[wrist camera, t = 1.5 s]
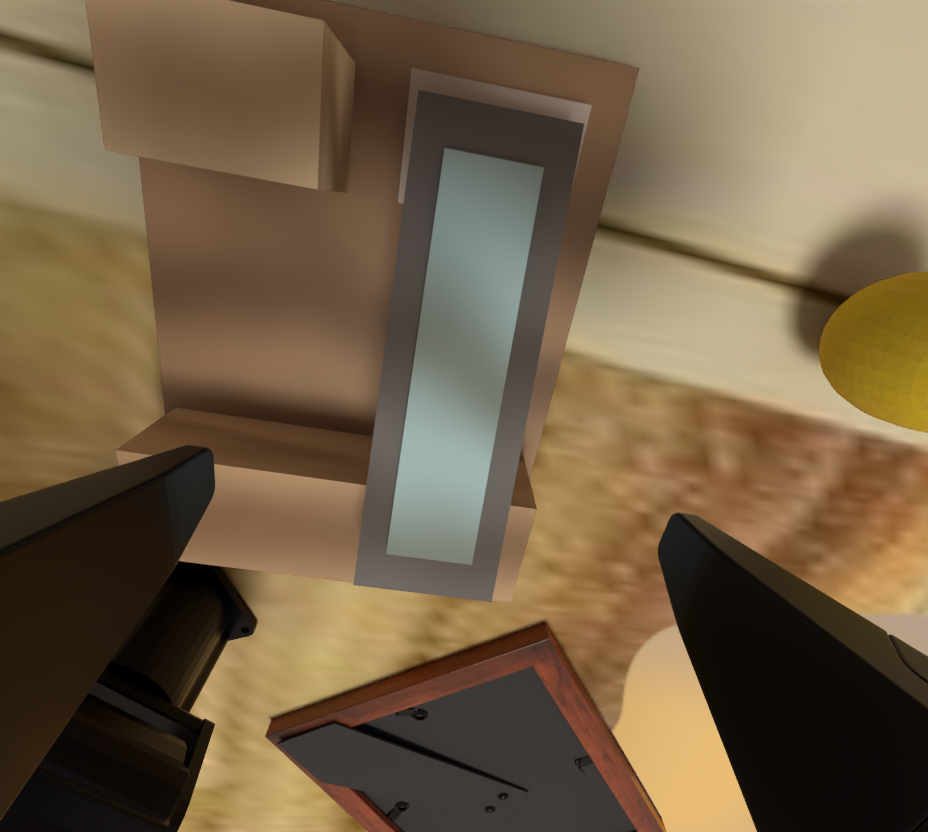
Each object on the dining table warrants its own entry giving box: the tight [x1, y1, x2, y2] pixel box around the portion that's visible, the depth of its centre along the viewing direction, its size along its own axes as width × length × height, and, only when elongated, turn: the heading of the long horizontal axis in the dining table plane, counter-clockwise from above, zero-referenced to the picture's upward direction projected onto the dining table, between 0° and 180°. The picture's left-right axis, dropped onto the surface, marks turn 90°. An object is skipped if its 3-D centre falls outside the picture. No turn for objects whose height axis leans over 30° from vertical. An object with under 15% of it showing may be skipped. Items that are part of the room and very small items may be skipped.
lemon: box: [819, 271, 928, 432], centre depth 17 cm, size 6×6×8 cm
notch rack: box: [86, 0, 639, 602], centre depth 18 cm, size 21×17×5 cm
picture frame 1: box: [353, 90, 584, 602], centre depth 16 cm, size 16×5×2 cm, turn 170°
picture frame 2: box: [265, 623, 666, 832], centre depth 34 cm, size 20×2×25 cm
